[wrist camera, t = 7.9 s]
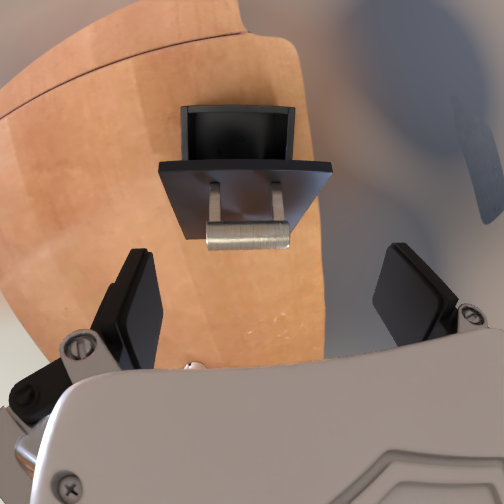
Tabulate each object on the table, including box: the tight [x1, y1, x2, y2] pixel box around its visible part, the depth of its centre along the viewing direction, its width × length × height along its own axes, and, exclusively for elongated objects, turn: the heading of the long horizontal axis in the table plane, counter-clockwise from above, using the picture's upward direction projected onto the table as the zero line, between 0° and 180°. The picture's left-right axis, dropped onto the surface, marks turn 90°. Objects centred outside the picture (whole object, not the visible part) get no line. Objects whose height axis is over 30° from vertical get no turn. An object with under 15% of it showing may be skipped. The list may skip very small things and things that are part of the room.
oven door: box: [158, 159, 333, 251], centre depth 23 cm, size 14×11×5 cm
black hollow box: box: [181, 105, 295, 161], centre depth 32 cm, size 13×11×9 cm
